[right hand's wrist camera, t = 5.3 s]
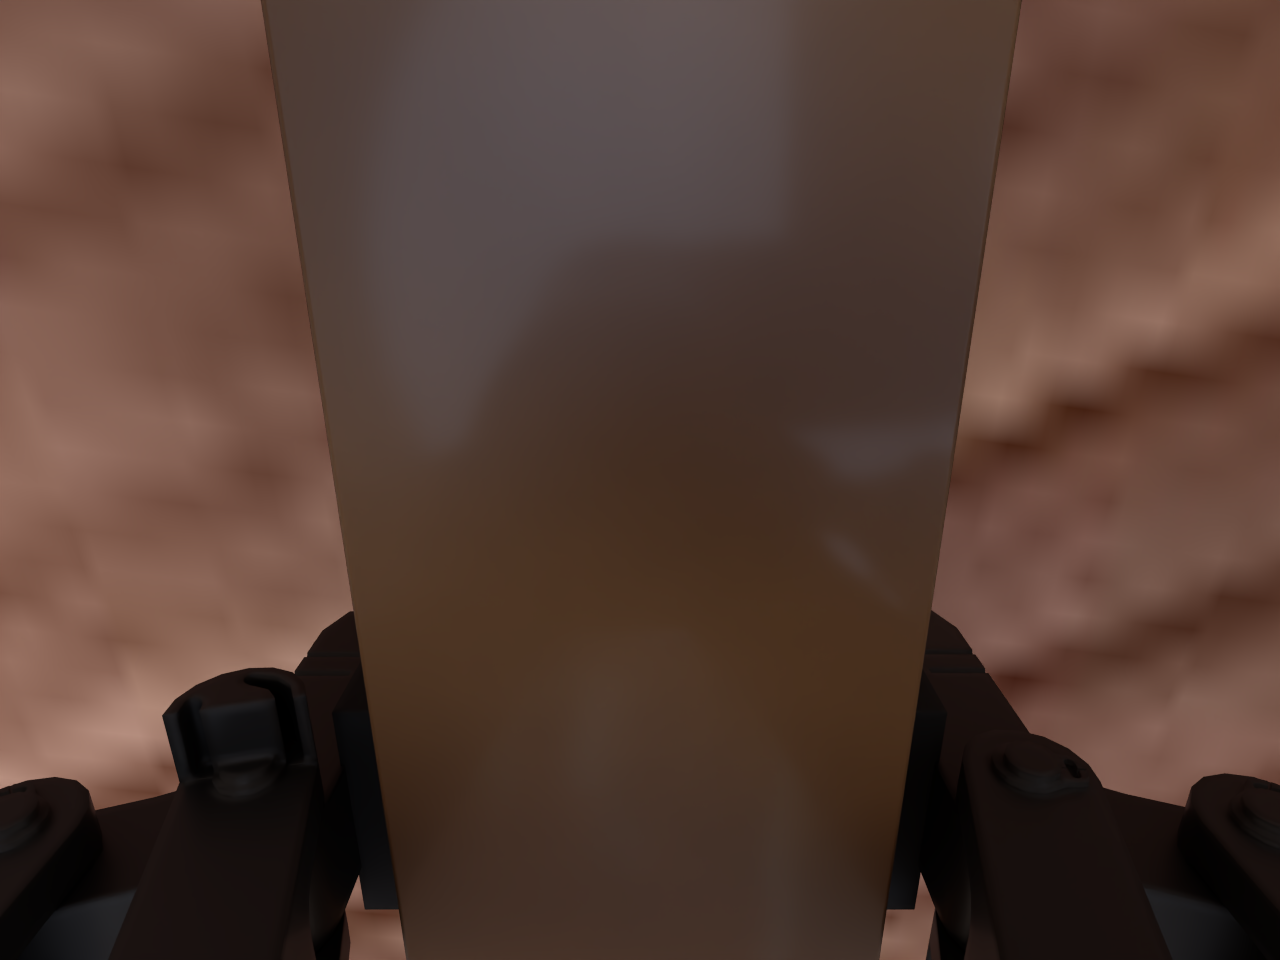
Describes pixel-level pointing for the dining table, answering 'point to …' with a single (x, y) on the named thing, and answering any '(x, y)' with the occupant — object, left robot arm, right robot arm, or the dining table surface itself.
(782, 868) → the post
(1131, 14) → the dining table surface
